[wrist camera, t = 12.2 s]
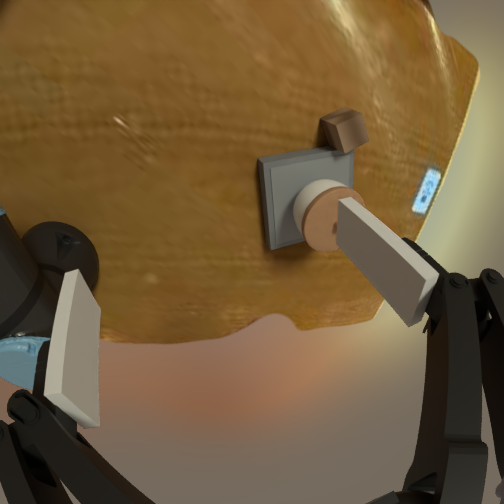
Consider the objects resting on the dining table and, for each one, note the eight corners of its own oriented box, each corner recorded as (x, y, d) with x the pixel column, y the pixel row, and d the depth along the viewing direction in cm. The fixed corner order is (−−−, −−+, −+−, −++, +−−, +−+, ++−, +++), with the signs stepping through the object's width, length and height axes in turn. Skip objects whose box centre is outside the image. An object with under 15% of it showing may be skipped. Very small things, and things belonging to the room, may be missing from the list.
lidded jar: (315, 236, 55) (341, 267, 48) (270, 212, 49) (294, 244, 42) (350, 188, 51) (383, 213, 44) (309, 157, 46) (342, 180, 38)
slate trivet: (266, 242, 56) (271, 251, 54) (257, 158, 46) (263, 163, 44) (342, 221, 59) (350, 228, 57) (346, 143, 49) (354, 148, 47)
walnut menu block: (328, 144, 48) (344, 153, 45) (319, 118, 45) (336, 125, 41) (351, 132, 48) (369, 140, 44) (344, 107, 45) (361, 113, 41)
